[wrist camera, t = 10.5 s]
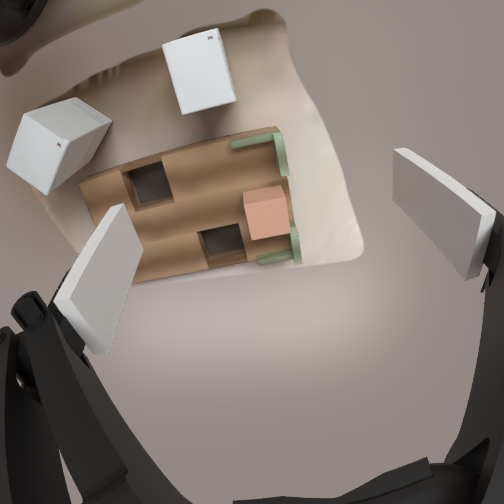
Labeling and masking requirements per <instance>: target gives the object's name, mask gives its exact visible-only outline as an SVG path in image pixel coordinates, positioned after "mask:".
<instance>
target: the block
mask: <svg viewBox="0 0 504 504" xmlns="http://www.w3.org/2000/svg"><path fill="white" fill-rule="evenodd" d="M243 202H244V208H245V213H246V217H247V221H248V226H249V230H250V234H251V239H252V240H257V239H262V238H267V237H272V236H277V235H283V234H288V233H291V229H290V223H289V216H288V210H287V203H286V197H285V194H284V192H283V189H282V187H281V185H278V186H272V187H267V188H262V189H257V190H252V191H247V192H243Z"/></svg>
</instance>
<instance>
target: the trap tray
mask: <svg viewBox="0 0 504 504" xmlns="http://www.w3.org/2000/svg"><path fill="white" fill-rule="evenodd" d="M129 171H130V172H129ZM130 174H131V175H130ZM287 175H289V169H288V163H287V157H286V151H285V146H284V140H283V135H282V133H281V132H280V131H279V129H278V128H277V127H276V126H273V127H267V128H262V129H257V130H252V131H247V132H242V133H237V134H232V135H228V136H223V137H219V138H215V139H210V140H206V141H202V142H198V143H194V144H190V145H186V146H183V147H179V148H175V149H172V150H168V151H165V152H161V153H158V154H154V155H151V156H148V157H144V158H141V159H138V160H135V161H132V162H128V163H125V164H122V165H119V166H116V167H113V168H111V169H108V170H105V171H102V172H99V173H96V174H94V175H91V176H88V177H86V178H85V179H84V180H83V181H82V182H80V183H79V184H78V185H79V188H80V190H81V193H82V195H83V198H84V200H85V202H86V205H87V207H88V209H89V212H90V214H91V216H92V219H93V221H94V223H95V225H96V228H97V226H98V225H99V223H100V222H101V220H102V219H103V217H104V216H105V214H106V213H107V211H108V210H109V209H110V207H112V206H116V205H119V204H122V203H124V205H125V207H126V210H127V212H128V214H129V217H130V219H131V222H132V224H133V226H134V229H135V231H136V233H137V236H138V238H139V240H140V242H141V245H142V247H143V249H144V250H143V253H142V255H141V258H140V261H139V264H138V266H137V269H136V272H135V275H134V278H133V280H132V283H136V282H142V281H147V280H153V279H158V278H163V277H169V276H174V275H179V274H185V273H190V272H195V271H200V270H206V269H211V268H216V267H221V266H227V265H232V264H237V263H242V262H247V261H253V260H258V264H259V265H263V264H268V263H274V262H279V261H284V260H289V259H294V263H295V265H296V264H301V263H302V258H301V251H300V243H299V236H298V231H297V228H296V226H295V223H294V218H293V211H292V204H291V198H290V191H289V185H288V179H287ZM278 185H281V187H282V189H283V192H284V194H285V197H286V203H287V210H288V216H289V223H290V229H291V233H288V234H283V235H277V236H272V237H267V238H262V239H257V240H252V239H251V234H250V230H249V226H248V221H247V217H246V213H245V208H244V202H243V192H247V191H252V190H257V189H262V188H267V187H272V186H278ZM135 188H136V189H135ZM171 195H172V196H171ZM138 196H139V197H138ZM167 196H168V197H167ZM163 197H164V198H163ZM159 198H160V199H159ZM155 199H156V200H155ZM148 201H149V202H148ZM144 202H145V203H144ZM201 231H202V232H201ZM202 234H203V235H202ZM203 237H204V238H203ZM204 240H205V241H204ZM205 243H206V244H205ZM206 246H207V247H206ZM207 249H208V250H207ZM208 252H209V253H208Z"/></svg>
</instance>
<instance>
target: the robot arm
mask: <svg viewBox="0 0 504 504" xmlns="http://www.w3.org/2000/svg"><path fill="white" fill-rule="evenodd" d="M46 1H47V0H0V45H4V44H8V43H10V42H12V41H14V40H16V39H17V38H19V37H20V36H21V35H23V34H24V33H25V32H26V31H27V30H28V29H29V28H30V27H31V25H32V24H33V23H34V22H35V20H36V19H37V18H38V16H39V15H40V13H41V11H42V9H43V8H44V6H45V4H46ZM393 200H394V201H395V202H396V203H397V204H398V205H399V206H400V208H402V209H403V211H404V212H405V213H406V214H407V215H408V216H409V217H410V218H411V219H412V220H413V221H414V222H415V223H416V224H417V225H418V226H419V227H420V229H421V230H422V231H423V232H424V233H425V234H426V235H427V236H428V237H429V239H430V240H431V241H432V242H433V243H434V244H435V245H436V246H437V247H438V249H439V250H440V251H441V252H442V253H443V254H444V256H445V257H446V258H447V259H448V260H449V262H450V263H451V264H452V265H453V267H454V268H455V269H456V270H457V271H458V273H459V274H460V275H461V276H462V278H463V279H464V280H465V281H466V280H469V279H472V278H475V277H478V276H479V275H480V272H481V268H482V265H483V263H484V264H485V265H486V266H487V267H488V268H489V269H488V272H487V275H486V278H485V281H484V284H483V287H482V289H481V292H482V293H483V291H484V289H485V302H484V315H483V323H482V332H481V339H480V346H479V352H478V358H477V363H476V369H475V374H474V379H473V383H472V388H471V392H470V396H469V400H468V404H467V408H466V411H465V415H464V418H463V422H462V425H461V428H460V431H459V434H458V437H457V439H456V440H455V442H454V444H453V445H452V447H451V449H450V450H449V452H448V454H447V456H446V458H445V461H444V463H430V464H429V461H428V458H427V457H425V458H423V459H420V460H418V461H415V462H413V463H410V464H408V465H405V466H402V467H399V468H397V469H394V470H391V471H388V472H385V473H383V474H381V475H380V476H378V477H376V478H374V479H372V480H371V481H369V482H367V483H365V484H363V485H362V486H360V487H358V488H356V489H354V490H352V491H350V492H348V493H346V494H344V495H342V496H340V497H337V498H300V497H285V496H280V497H272V498H263V499H252V500H237V501H233V504H504V216H503V215H502V214H501V213H500V212H498V211H497V210H496V209H495V208H494V207H492V206H491V205H490V204H489V203H487V202H485V200H484V199H482V198H481V197H479V196H478V195H477V194H476V193H474V192H473V191H472V190H470V189H468V188H465V187H464V186H462V185H461V184H460V183H458V182H457V181H456V180H454V179H453V178H451V177H450V176H449V175H447V174H446V173H444V172H443V171H441V170H440V169H438V168H437V167H435V166H434V165H432V164H431V163H429V162H428V161H426V160H425V159H423V158H421V157H420V156H418V155H417V154H415V153H414V152H412V151H410V150H409V149H407V148H399V149H393ZM143 250H144V249H143V247H142V245H141V242H140V240H139V238H138V236H137V233H136V231H135V229H134V226H133V224H132V222H131V219H130V217H129V214H128V212H127V210H126V207H125V205H124V203H122V204H119V205H116V206H112V207H110V209H109V210H108V211H107V213H106V214H105V216H104V217H103V219H102V220H101V222H100V223H99V225H98V226H97V228H96V229H95V231H94V232H93V234H92V236H91V237H90V239H89V240H88V242H87V243H86V245H85V247H84V248H83V250H82V251H81V253H80V255H79V256H78V258H77V260H76V261H75V263H74V265H73V266H72V267H71V268H70V269H69V270H68V271H67V272H66V274H65V276H64V278H63V279H62V282H61V283H60V285H59V287H58V289H57V290H56V292H55V294H54V296H53V297H52V300H51V301H50V303H49V305H48V307H47V306H46V304H45V303H44V301H43V300H42V299H41V297H40V296H39V294H38V293H37V292H36V291H31V292H28V293H26V294H24V295H23V296H22V297H21V298H19V299H18V300H17V302H16V303H15V304H14V306H13V308H12V310H11V315H12V316H13V318H14V319H15V320H16V321H17V323H18V324H19V325H20V327H21V328H22V329H23V330H24V331H23V332H20V333H18V334H16V335H15V333H14V332H13V331H12V330H11V329H10V327H8V326H5V327H3V328H1V329H0V504H71V500H70V497H69V493H68V489H67V485H66V482H65V477H64V473H63V469H62V464H61V459H60V455H59V450H60V452H61V455H62V457H63V459H64V461H65V464H66V466H67V468H68V470H69V472H70V474H71V476H72V478H73V480H74V482H75V484H76V486H77V488H78V490H79V492H80V494H81V496H82V499H83V503H81V504H192V503H191V502H190V501H189V500H187V499H186V498H185V497H183V496H182V495H181V494H180V493H179V492H178V491H177V489H176V488H175V487H174V486H173V485H172V484H171V483H170V481H169V480H168V479H167V478H166V476H165V475H163V473H162V472H161V470H160V469H159V468H158V467H157V465H156V464H155V463H154V461H153V460H152V459H151V458H150V456H149V455H148V454H147V452H146V451H145V449H144V448H143V447H142V446H141V444H140V443H139V441H138V440H137V438H136V437H135V436H134V434H133V433H132V431H131V430H130V429H129V427H128V425H127V424H126V422H125V421H124V419H123V418H122V416H121V415H120V413H119V412H118V410H117V408H116V407H115V405H114V404H113V402H112V400H111V399H110V397H109V396H108V394H107V392H106V390H105V389H104V387H103V385H102V384H101V382H100V380H99V378H98V376H97V375H96V373H95V371H94V369H93V367H92V365H91V363H90V362H89V360H88V358H87V357H86V356H85V354H84V353H83V350H84V347H85V344H86V345H87V347H88V348H89V349H90V350H91V351H92V353H93V354H103V353H110V351H111V347H112V344H113V340H114V337H115V333H116V330H117V327H118V323H119V320H120V317H121V314H122V311H123V307H124V304H125V301H126V298H127V295H128V292H129V289H130V286H131V283H132V280H133V278H134V275H135V272H136V269H137V266H138V264H139V261H140V258H141V255H142V253H143ZM16 378H17V379H18V380H19V381H20V382H21V383H22V384H21V385H22V386H20V385H19V384H18V382H17V379H16Z"/></svg>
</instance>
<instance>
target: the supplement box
mask: <svg viewBox="0 0 504 504" xmlns="http://www.w3.org/2000/svg"><path fill="white" fill-rule="evenodd" d="M111 123H112V120H111V119H109V118H108V117H106V116H105V115H103V114H102V113H100V112H99V111H97V110H95V109H94V108H92V107H91V106H89V105H88V104H86V103H84V102H83V101H81V100H80V99H78V98H76V97H75V98H71V99H68V100H64V101H61V102H58V103H54V104H51V105H48V106H45V107H42V108H39V109H36V110H33V111H30V112H27V113H24V115H23V117H22V120H21V123H20V125H19V128H18V131H17V134H16V137H15V140H14V143H13V146H12V149H11V152H10V155H9V159H8V162H7V166H6V167H8V168H9V169H10V170H12V171H13V172H14V173H16V174H17V175H18V176H20V177H21V178H23V179H24V180H25V181H27V182H28V183H30V184H31V185H32V186H34V187H35V188H36V189H38V190H39V191H40V192H42V193H43V194H44V195H46V196H48V195H49V194H50V193H51V192H52V191H54V190H55V189H56V188H57V187H58V186H60V185H61V184H62V183H63V182H64V181H66V180H67V179H68V178H69V177H70V176H72V175H73V174H74V173H75V172H77V171H78V170H79V169H81V168H82V167H83V166H85V165H86V164H87V163H89V162H90V161H91V159H92V158H93V156H94V154H95V152H96V150H97V148H98V146H99V144H100V143H101V141H102V139H103V137H104V135H105V134H106V132H107V130H108V128H109V126H110V125H111Z"/></svg>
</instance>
